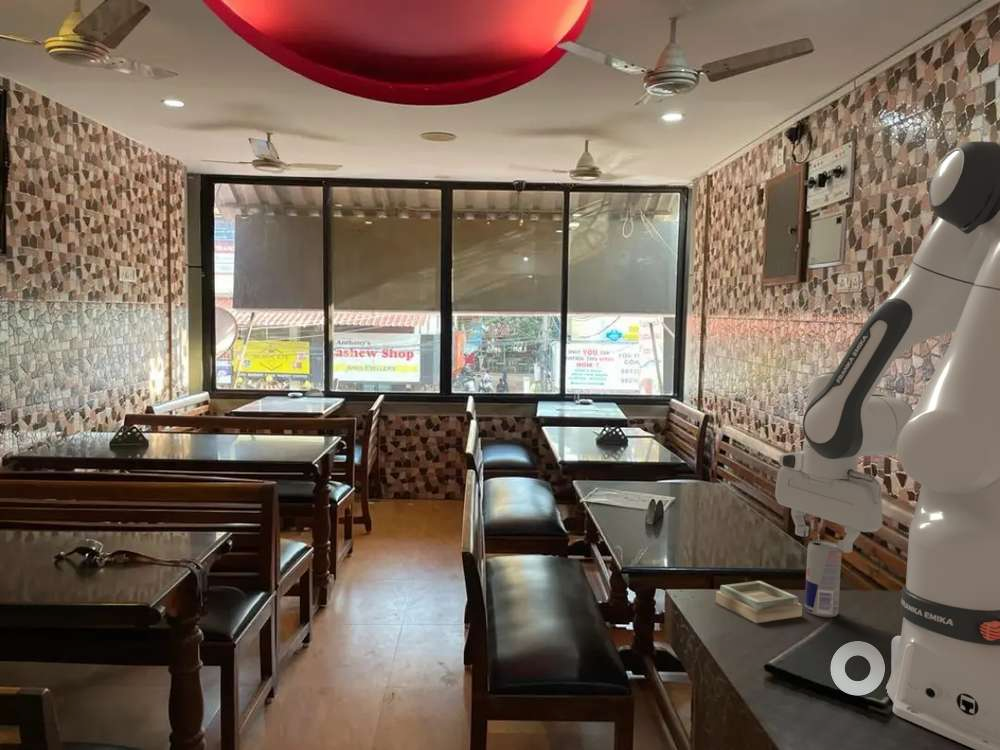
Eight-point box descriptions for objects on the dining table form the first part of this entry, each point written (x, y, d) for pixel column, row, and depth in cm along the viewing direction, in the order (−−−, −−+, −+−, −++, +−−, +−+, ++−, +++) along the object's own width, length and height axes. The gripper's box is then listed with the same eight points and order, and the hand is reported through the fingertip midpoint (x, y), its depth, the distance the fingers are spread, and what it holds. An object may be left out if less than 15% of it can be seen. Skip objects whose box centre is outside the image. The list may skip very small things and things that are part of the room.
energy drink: (809, 604, 127) (812, 537, 127) (841, 612, 124) (845, 543, 124) (800, 612, 123) (803, 543, 123) (833, 620, 120) (837, 549, 120)
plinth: (801, 616, 121) (802, 597, 121) (756, 623, 117) (757, 604, 117) (759, 596, 130) (760, 579, 130) (715, 602, 127) (716, 584, 126)
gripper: (895, 476, 115) (887, 561, 116) (798, 454, 134) (792, 526, 134) (867, 477, 112) (859, 563, 113) (772, 454, 131) (766, 528, 132)
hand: (822, 543), depth 124 cm, fingers open, 8 cm apart
